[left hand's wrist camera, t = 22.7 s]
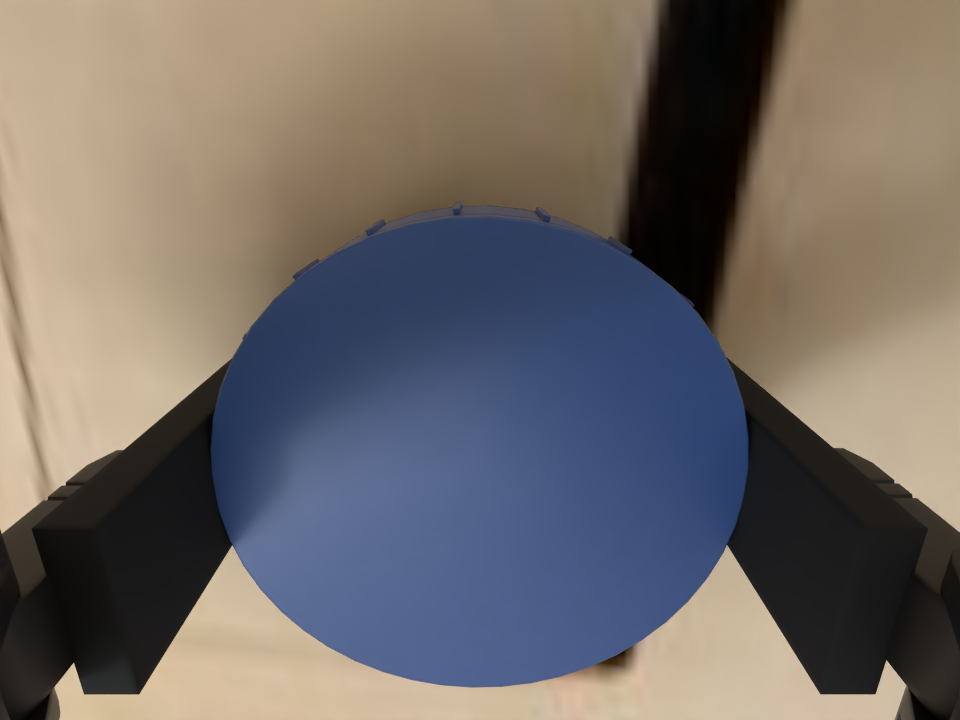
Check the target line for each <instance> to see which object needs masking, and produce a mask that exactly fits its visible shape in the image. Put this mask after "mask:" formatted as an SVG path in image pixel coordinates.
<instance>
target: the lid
mask: <svg viewBox="0 0 960 720" xmlns="http://www.w3.org/2000/svg"><path fill="white" fill-rule="evenodd" d="M365 232H366V233H364V234H362V235H360V236H358V237H356V238H355V239H353V240H352V241H350V242H349V243H347V244H346V245H344V246H342V247H341V248H339V249H338V250H336V251H335V252H333V253H332V254H330V255H329V256H327V257H326V258H325V259H323V260H322V261H319V260H318V259H316V260H315V261H313V262H312V263H310V264H309V265H307V266H306V267H305V268H303V269H302V270H300V271H299V272H297V273H296V274H295V275H294V276H293V278H294V279H295V281H294V282H293V283H292V284H291V285H290V286H289V287H287V288H286V289H285V290H284V291H283V292H282V293H281V294H280V295H278V296H277V297H276V298H275V299H274V300H273V301H272V303H271V304H270V305H269V306H268V307H267V309H266V310H265V311H264V312H263V313H262V314H261V316H260V317H259V318H258V319H257V320H256V322H255V323H254V324H253V325H252V326H251V328H250V330H249V331H248V332H247V333H246V334H245V335H244V337H243V341H242V343H241V344H240V346H239V348H238V349H237V351H236V353H235V354H234V356H233V358H232V361H231V363H230V366H229V368H228V370H227V373H226V375H225V378H224V380H223V382H222V385H221V387H220V392H219V396H218V400H217V404H216V408H215V412H214V416H213V424H212V436H211V447H210V454H211V469H212V477H213V483H214V489H215V494H216V499H217V504H218V510H219V513H220V516H221V518H222V521H223V524H224V526H225V529H226V532H227V534H228V537H229V540H230V542H231V543H232V545H233V547H234V549H235V551H236V553H237V554H238V556H239V558H240V560H241V562H242V564H243V566H244V567H245V568H246V570H247V571H248V572H249V574H250V575H251V577H252V578H253V579H254V581H255V582H256V584H257V585H258V586H259V588H260V589H261V590H262V591H263V592H264V594H265V595H266V596H267V597H268V598H269V599H270V600H271V601H272V602H273V603H274V604H275V605H276V606H277V607H278V609H279V610H280V611H281V612H282V613H284V614H285V615H286V616H287V617H288V618H290V619H291V620H292V621H293V622H294V623H296V624H297V625H298V626H299V627H300V628H301V629H303V630H304V631H305V632H307V633H308V634H310V635H311V636H313V637H314V638H316V639H317V640H319V641H320V642H322V643H323V644H325V645H326V646H328V647H329V648H331V649H333V650H335V651H337V652H339V653H341V654H343V655H345V656H347V657H349V658H351V659H353V660H354V661H357V662H359V663H362V664H364V665H367V666H369V667H372V668H375V669H377V670H380V671H382V672H385V673H389V674H393V675H396V676H400V677H403V678H407V679H410V680H415V681H421V682H427V683H432V684H438V685H447V686H460V687H503V686H511V685H520V684H528V683H534V682H538V681H543V680H547V679H552V678H556V677H561V676H564V675H567V674H570V673H573V672H576V671H579V670H582V669H585V668H588V667H591V666H593V665H595V664H597V663H599V662H602V661H604V660H606V659H608V658H611V657H613V656H615V655H617V654H619V653H621V652H622V651H624V650H626V649H627V648H629V647H631V646H632V645H634V644H636V643H638V642H639V641H641V640H643V639H644V638H645V637H647V636H648V635H649V634H651V633H652V632H653V631H655V630H656V629H657V628H659V627H660V626H661V625H663V624H664V623H665V622H667V621H668V620H669V619H670V618H671V617H672V616H673V615H674V614H675V613H676V612H677V611H678V610H679V609H680V608H682V607H683V606H684V605H685V604H686V603H687V602H688V601H689V600H690V598H691V597H692V596H693V595H694V594H695V592H696V591H697V590H698V589H699V588H700V586H701V585H702V584H703V583H704V582H705V580H706V579H707V578H708V576H709V575H710V573H711V571H712V570H713V568H714V567H715V565H716V564H717V562H718V560H719V559H720V557H721V556H722V554H723V552H724V550H725V548H726V546H727V544H728V541H729V539H730V537H731V535H732V533H733V531H734V528H735V526H736V523H737V519H738V516H739V513H740V510H741V506H742V501H743V496H744V491H745V485H746V479H747V474H748V468H749V435H748V429H747V422H746V416H745V409H744V403H743V400H742V397H741V394H740V391H739V388H738V385H737V382H736V378H735V375H734V372H733V370H732V368H731V366H730V364H729V362H728V360H727V358H726V356H725V354H724V352H723V350H722V348H721V346H720V344H719V342H718V341H717V339H716V338H715V337H714V335H713V334H712V332H711V331H710V330H709V328H708V327H707V325H706V324H705V322H704V321H703V320H702V318H701V317H700V315H699V314H698V313H697V312H696V311H695V310H694V309H693V308H692V307H694V304H693V303H692V302H691V301H690V300H689V299H687V298H686V297H685V296H683V295H682V294H680V293H679V292H678V291H676V290H675V289H674V288H673V287H672V286H671V285H669V284H668V283H667V282H665V281H664V280H663V279H662V278H660V277H659V276H658V275H656V274H655V273H654V272H653V271H651V270H650V269H649V268H647V267H646V266H645V265H643V264H642V263H641V262H639V261H638V260H636V259H635V258H634V257H632V256H631V255H630V254H631V252H632V250H631V249H629V248H628V247H626V246H625V245H623V244H622V243H620V242H619V241H617V240H616V239H614V238H613V237H611V236H610V237H609V239H608V240H606V239H604V238H602V237H600V236H599V235H597V234H595V233H593V232H592V231H590V230H588V229H585V228H583V227H580V226H578V225H575V224H573V223H570V222H568V221H565V220H562V219H560V218H557V217H553V216H550V215H549V214H548V213H547V212H545V211H544V210H543V209H542V208H538V207H537V208H536V212H533V211H529V210H525V209H516V208H507V207H497V206H463V207H462V202H456V203H455V206H454V207H450V208H444V209H438V210H432V211H426V212H420V213H417V214H414V215H411V216H407V217H404V218H401V219H398V220H394V221H391V222H388V223H386V224H385V221H384V219H383V220H380V221H378V222H377V223H375V224H374V225H373V226H371V227H370V228H369V229H367V230H366V231H365Z"/></svg>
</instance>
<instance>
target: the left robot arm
mask: <svg viewBox="0 0 960 720" xmlns="http://www.w3.org/2000/svg"><path fill="white" fill-rule="evenodd" d="M726 358H727V357H726ZM727 360H728V362H729V364H730V366H731V368H732V370H733V372H734V375H735V378H736V382H737V385H738V388H739V391H740V394H741V397H742V400H743V403H744V409H745V416H746V422H747V429H748V435H749V468H748V474H747V479H746V485H745V491H744V496H743V501H742V506H741V510H740V513H739V516H738V519H737V523H736V526H735V528H734V531H733V533H732V535H731V537H730V539H729V541H728V544H727V545H728V547H729V548H730V550H731V552H732V553H733V555H734V556H735V558H736V560H737V561H738V563H739V564H740V566H741V568H742V569H743V571H744V572H745V574H746V576H747V577H748V579H749V580H750V582H751V584H752V585H753V587H754V588H755V590H756V592H757V593H758V595H759V596H760V598H761V600H762V601H763V603H764V604H765V606H766V608H767V609H768V611H769V612H770V614H771V616H772V617H773V619H774V620H775V622H776V624H777V625H778V627H779V629H780V630H781V632H782V633H783V635H784V637H785V638H786V640H787V641H788V643H789V645H790V646H791V648H792V649H793V651H794V653H795V654H796V656H797V657H798V659H799V661H800V662H801V664H802V665H803V667H804V669H805V670H806V672H807V673H808V675H809V677H810V678H811V680H812V681H813V683H814V685H815V686H816V688H817V689H818V691H819V693H820V694H876V691H877V688H878V685H879V681H880V678H881V675H882V672H883V669H884V666H885V663H886V660H887V661H888V662H889V664H890V665H891V666H892V667H893V669H894V670H895V671H896V672H897V674H898V675H899V676H900V678H901V679H902V680H903V681H904V683H905V684H906V685H907V686H906V689H905V691H904V694H903V697H902V700H901V703H900V706H899V709H898V712H897V715H896V718H895V720H960V532H958V531H957V530H956V529H955V528H953V527H952V526H951V525H950V524H948V523H947V522H946V521H945V520H943V519H942V518H941V517H940V516H938V515H937V514H936V513H935V512H933V511H932V510H931V509H930V508H928V507H927V506H926V505H925V504H923V503H922V502H921V501H920V500H918V499H917V498H913V497H912V494H911V493H910V492H908V491H907V490H906V489H905V488H903V487H902V486H901V485H900V484H895V483H894V480H893V479H892V478H891V477H890V476H888V475H887V474H886V473H885V472H883V471H882V470H881V469H880V468H878V467H877V466H876V465H875V464H873V463H872V462H870V461H868V460H866V459H864V458H862V457H860V456H858V455H856V454H854V453H852V452H850V451H848V450H846V449H843V448H833V447H831V446H830V445H829V444H828V443H827V442H826V441H824V440H823V439H822V438H821V437H820V436H819V435H817V434H816V433H815V432H814V431H813V430H811V429H810V428H809V427H808V426H807V425H806V424H804V423H803V422H802V421H801V420H800V419H798V418H797V417H796V416H795V415H794V414H793V413H791V412H790V411H789V410H788V409H787V408H785V407H784V406H783V405H782V404H781V403H780V402H778V401H777V400H776V399H775V398H774V397H773V396H771V395H770V394H769V393H768V392H767V391H765V390H764V389H763V388H762V387H761V386H760V385H758V384H757V383H756V382H755V381H754V380H752V379H751V378H750V377H749V376H748V375H747V374H745V373H744V372H743V371H742V370H741V369H739V368H738V367H737V366H736V365H735V364H734V363H732V362H731V361H730V360H729V359H728V358H727ZM231 361H232V359H231V360H230V361H228V362H227V363H226V364H225V365H224V366H223V367H221V368H220V369H219V370H218V371H217V372H215V373H214V374H213V375H212V376H211V377H210V378H208V379H207V380H206V381H205V382H204V383H202V384H201V385H200V386H199V387H198V388H197V389H195V390H194V391H193V392H192V393H191V394H189V395H188V396H187V397H186V398H185V399H184V400H182V401H181V402H180V403H179V404H178V405H177V406H175V407H174V408H173V409H172V410H171V411H169V412H168V413H167V414H166V415H165V416H164V417H162V418H161V419H160V420H159V421H158V422H156V423H155V424H154V425H153V426H152V427H151V428H149V429H148V430H147V431H146V432H145V433H143V434H142V435H141V436H140V437H139V438H138V439H136V440H135V441H134V442H133V443H132V444H131V445H129V446H128V447H127V448H126V449H125V450H117V451H115V452H113V453H111V454H109V455H107V456H105V457H103V458H101V459H99V460H97V461H95V462H93V463H91V464H89V465H87V466H86V467H84V468H83V469H82V470H81V471H79V472H78V473H77V474H76V475H74V476H73V477H72V478H71V479H70V480H68V481H67V482H66V486H61V487H60V488H58V489H57V490H56V491H55V492H53V493H52V494H51V495H50V496H48V500H47V501H42V502H41V503H40V504H39V505H37V506H36V507H35V508H34V509H32V510H31V511H30V512H29V513H27V514H26V515H25V516H24V517H22V518H21V519H20V520H19V521H17V522H16V523H15V524H14V525H13V526H11V527H10V528H9V529H8V530H6V531H5V532H4V533H3V534H2V533H1V531H0V720H59V718H60V707H59V700H58V697H57V694H56V691H55V689H54V687H55V685H56V684H57V683H58V682H59V680H60V679H61V678H62V677H63V675H64V674H65V673H66V672H67V670H68V669H69V668H70V666H71V665H72V664H73V663H74V664H75V667H76V670H77V673H78V676H79V680H80V683H81V686H82V689H83V692H84V694H140V692H141V690H142V689H143V687H144V686H145V684H146V682H147V681H148V679H149V678H150V676H151V674H152V673H153V671H154V670H155V668H156V666H157V665H158V663H159V662H160V660H161V658H162V657H163V655H164V654H165V652H166V650H167V649H168V647H169V646H170V644H171V642H172V641H173V639H174V638H175V636H176V634H177V633H178V631H179V630H180V628H181V626H182V625H183V623H184V622H185V620H186V618H187V617H188V615H189V614H190V612H191V610H192V609H193V607H194V606H195V604H196V602H197V601H198V599H199V598H200V596H201V594H202V593H203V591H204V590H205V588H206V586H207V585H208V583H209V582H210V580H211V578H212V577H213V575H214V574H215V572H216V570H217V569H218V567H219V565H220V564H221V562H222V561H223V559H224V557H225V556H226V554H227V553H228V551H229V549H230V548H231V546H232V543H231V542H230V540H229V537H228V534H227V532H226V529H225V526H224V524H223V521H222V518H221V516H220V513H219V510H218V504H217V499H216V494H215V489H214V483H213V477H212V469H211V454H210V447H211V436H212V424H213V416H214V412H215V408H216V404H217V400H218V396H219V392H220V387H221V385H222V382H223V380H224V378H225V375H226V373H227V370H228V368H229V366H230V363H231Z"/></svg>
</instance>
